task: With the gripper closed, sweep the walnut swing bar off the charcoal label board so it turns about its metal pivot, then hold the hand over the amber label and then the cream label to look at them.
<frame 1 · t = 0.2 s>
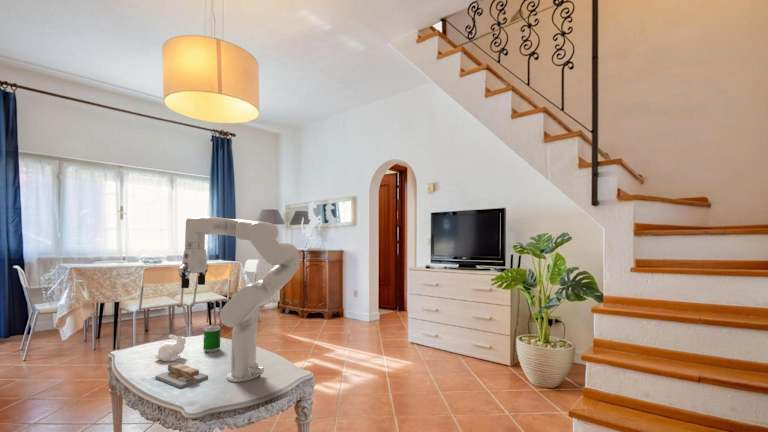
hand: (193, 286, 151), 36 cm above the table, tool pointing down, fingers open, 9 cm apart
label board: (181, 378, 142), on the table
soda can: (211, 350, 177), on the table
swing bar: (182, 369, 143), point 4 cm above the table, hinge at 0.0°
rabbit: (172, 359, 165), on the table
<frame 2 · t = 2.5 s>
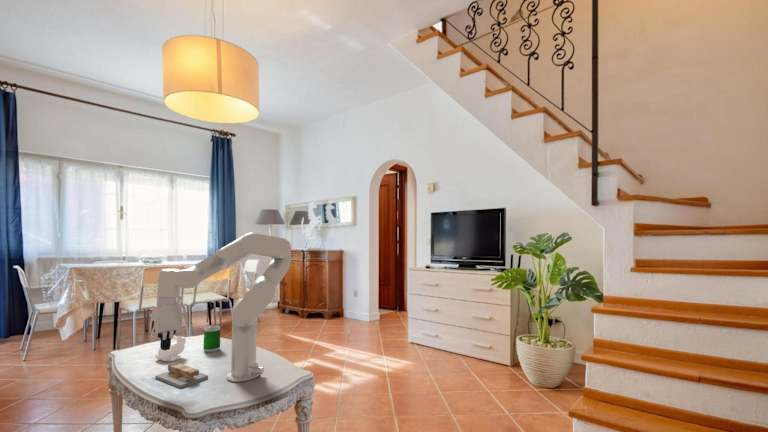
hand: (165, 349, 135), 14 cm above the table, tool pointing down, fingers closed
nothing on the table moved.
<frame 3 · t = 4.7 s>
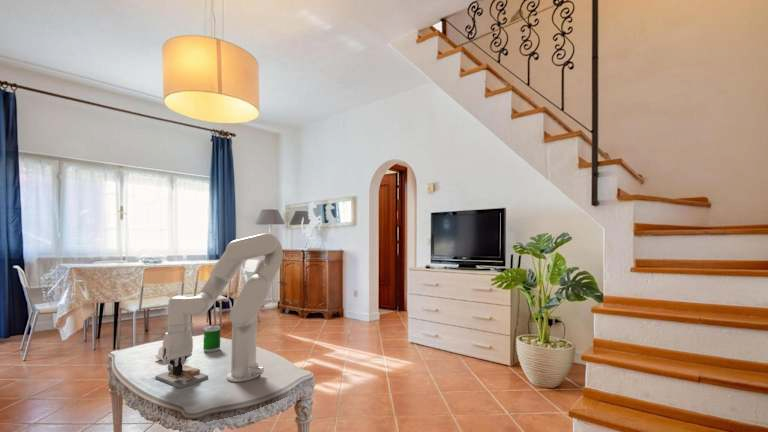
hand: (177, 375, 139), 3 cm above the table, tool pointing down, fingers closed
swing bar: (182, 369, 143), point 4 cm above the table, hinge at 1.8°, touching gripper
everything else where it was.
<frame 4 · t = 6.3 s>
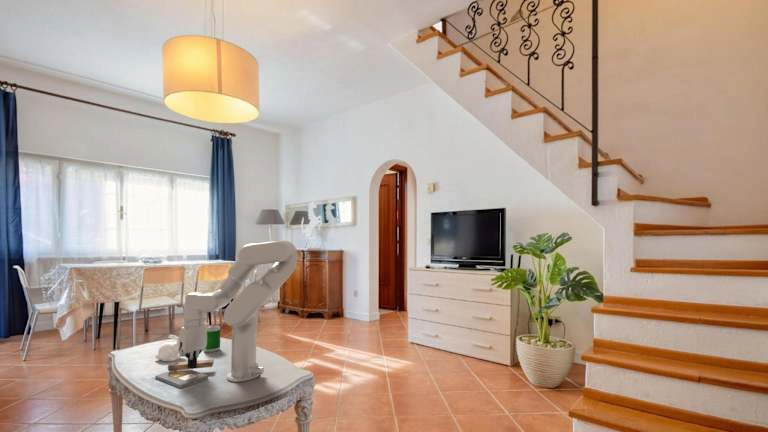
hand: (192, 367, 145), 4 cm above the table, tool pointing down, fingers closed
swing bar: (190, 365, 148), point 4 cm above the table, hinge at 46.7°, touching gripper
everything else where it was.
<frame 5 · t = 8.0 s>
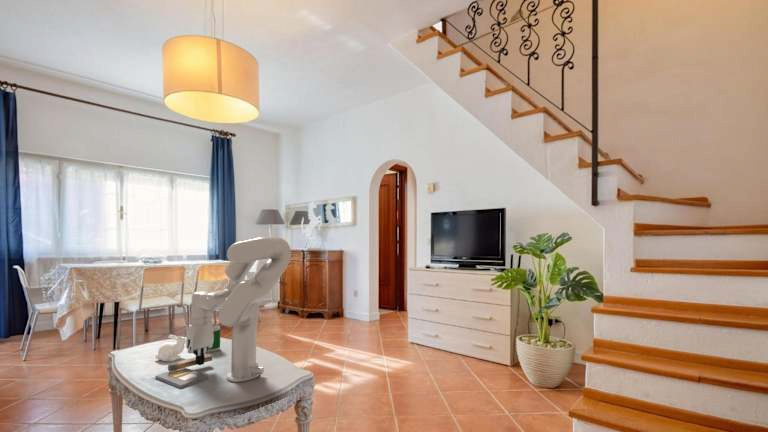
hand: (200, 364, 150), 3 cm above the table, tool pointing down, fingers closed
swing bar: (190, 362, 151), point 4 cm above the table, hinge at 78.6°, touching gripper
everything else where it was.
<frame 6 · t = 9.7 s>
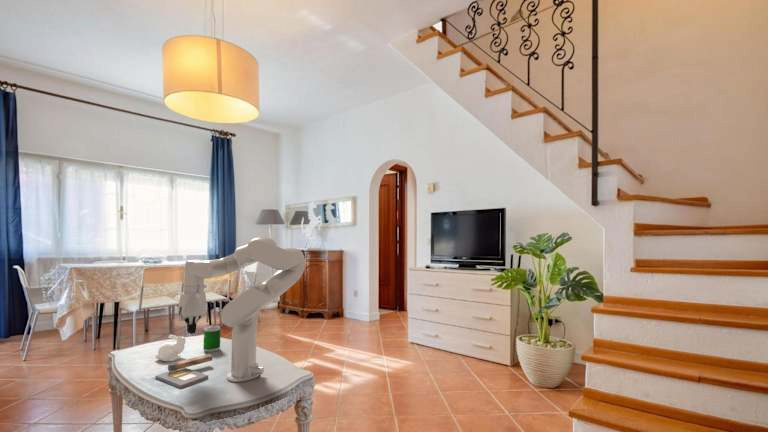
hand: (191, 332, 149), 17 cm above the table, tool pointing down, fingers closed
swing bar: (190, 362, 151), point 4 cm above the table, hinge at 78.6°
everything else where it was.
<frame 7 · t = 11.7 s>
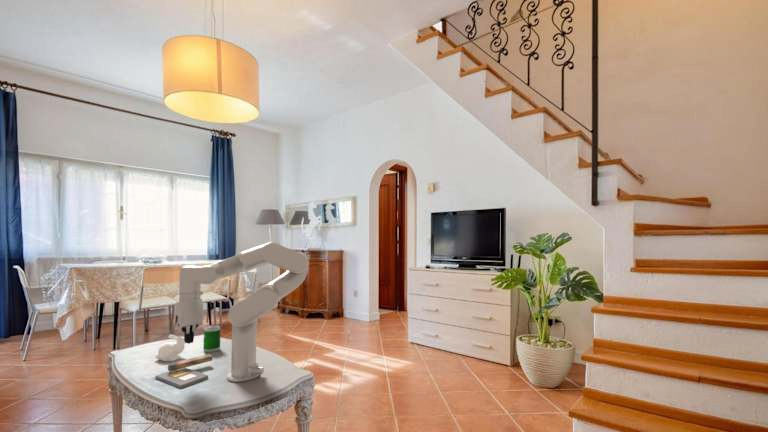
hand: (189, 342, 141), 15 cm above the table, tool pointing down, fingers closed
nothing on the table moved.
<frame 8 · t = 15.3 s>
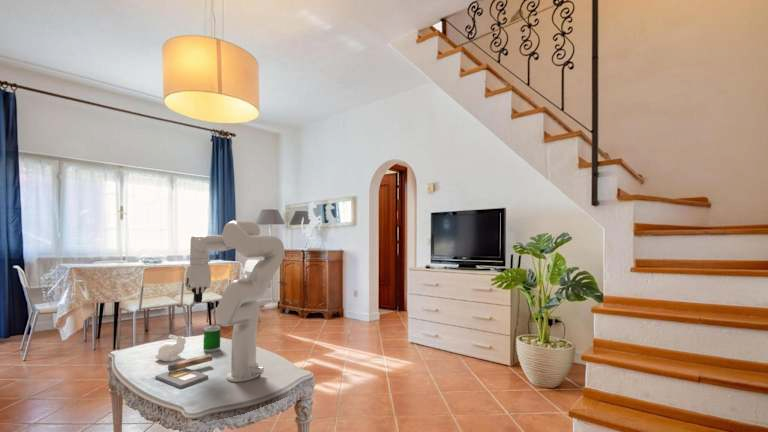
hand: (198, 302, 162), 27 cm above the table, tool pointing down, fingers closed
nothing on the table moved.
at the end: swing bar at +79° (first picture: +0°) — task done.
